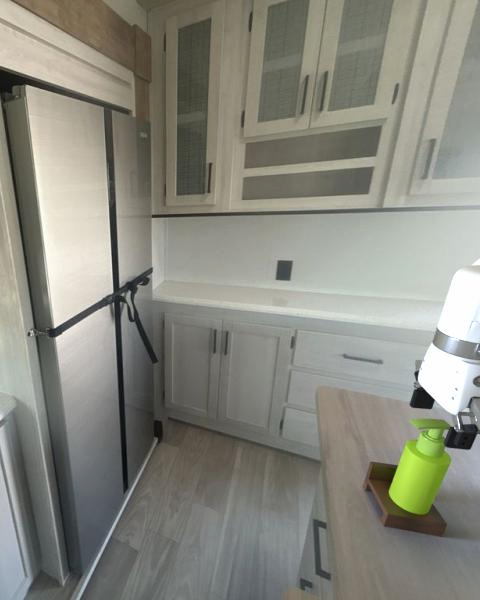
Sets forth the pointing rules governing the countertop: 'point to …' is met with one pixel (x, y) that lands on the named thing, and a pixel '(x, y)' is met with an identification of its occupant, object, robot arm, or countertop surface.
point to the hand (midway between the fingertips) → (437, 426)
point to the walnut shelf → (394, 515)
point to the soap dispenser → (421, 467)
